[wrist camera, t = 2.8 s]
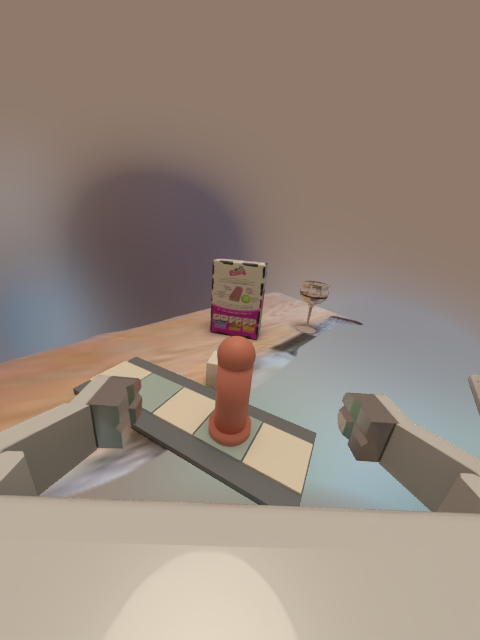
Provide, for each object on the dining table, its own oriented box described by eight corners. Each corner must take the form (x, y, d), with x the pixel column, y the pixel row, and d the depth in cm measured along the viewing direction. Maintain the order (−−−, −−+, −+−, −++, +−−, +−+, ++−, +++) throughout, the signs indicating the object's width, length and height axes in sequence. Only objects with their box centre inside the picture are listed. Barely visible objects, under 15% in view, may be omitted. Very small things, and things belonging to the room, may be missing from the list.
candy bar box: (260, 331, 55) (269, 262, 49) (257, 340, 50) (267, 265, 44) (215, 324, 57) (219, 256, 51) (209, 332, 52) (212, 258, 46)
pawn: (222, 407, 29) (228, 324, 25) (256, 422, 27) (269, 335, 23) (199, 433, 25) (202, 339, 21) (238, 454, 23) (250, 355, 19)
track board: (136, 360, 39) (136, 355, 38) (315, 437, 27) (317, 431, 27) (74, 392, 30) (72, 386, 30) (294, 526, 19) (296, 518, 18)
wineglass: (307, 323, 63) (317, 280, 59) (325, 333, 57) (336, 287, 53) (287, 325, 60) (295, 280, 56) (304, 336, 55) (314, 287, 50)
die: (214, 371, 38) (215, 349, 37) (237, 375, 37) (239, 354, 36) (205, 385, 34) (206, 362, 33) (231, 390, 34) (233, 367, 32)
